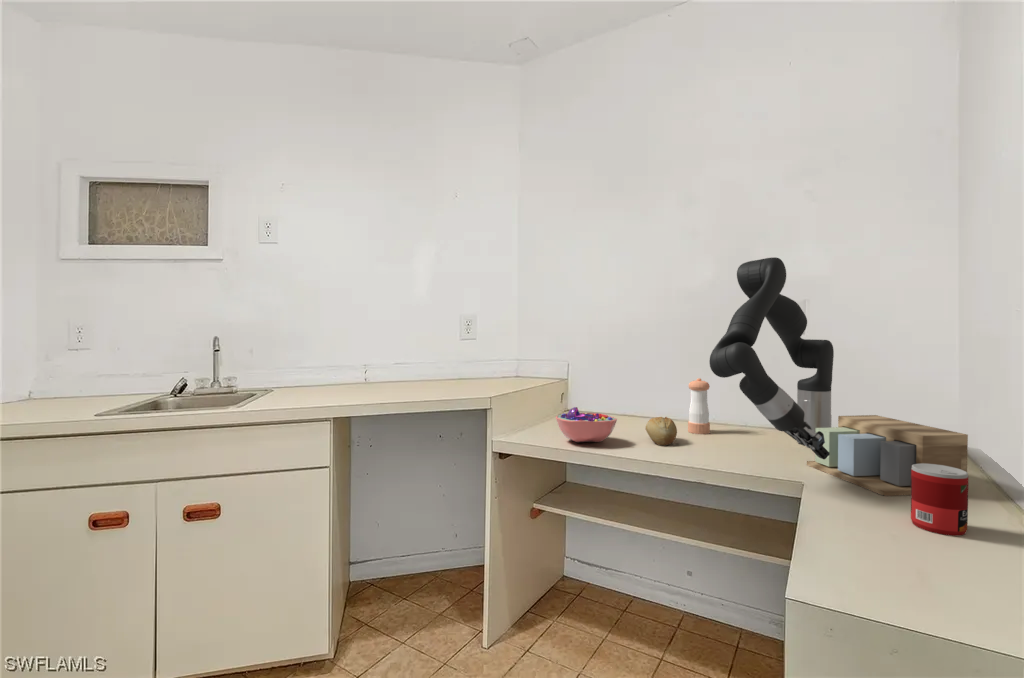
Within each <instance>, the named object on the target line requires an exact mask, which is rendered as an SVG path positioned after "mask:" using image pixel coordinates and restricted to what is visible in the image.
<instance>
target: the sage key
mask: <svg viewBox="0 0 1024 678" xmlns="http://www.w3.org/2000/svg"><path fill="white" fill-rule="evenodd" d="M818 431H820V432H822V433H823V434H824V440H825V443H824V444H823V445H822V446H823V447H824V448H825V449H826V450H827V451H828V452H829V456H828V457H827V458H826V459H821V458H819V457H818V456H817V455H816V454H815V453H814V455H815V456H814V457H815V459H814V461H815V462H818V463H820V464H823V465H826V466H828V467H838V434H860V430H857V429H853V428H849V427H838V426H837V427H836V426H835V427H831V428H816V433H817V432H818Z"/></svg>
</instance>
